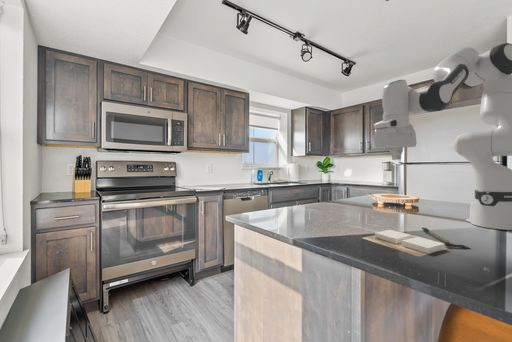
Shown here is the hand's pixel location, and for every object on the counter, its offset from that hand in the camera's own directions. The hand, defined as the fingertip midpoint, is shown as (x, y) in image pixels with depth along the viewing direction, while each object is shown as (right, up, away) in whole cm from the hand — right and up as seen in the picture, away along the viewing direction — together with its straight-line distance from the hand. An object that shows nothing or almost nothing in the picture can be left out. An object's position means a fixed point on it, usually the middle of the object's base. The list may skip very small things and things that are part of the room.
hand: (396, 159), depth 95 cm
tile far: (-4, -27, -9) cm, 28 cm away
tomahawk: (+9, -28, -11) cm, 31 cm away
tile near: (0, -27, -18) cm, 32 cm away
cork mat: (-5, -28, -14) cm, 32 cm away
